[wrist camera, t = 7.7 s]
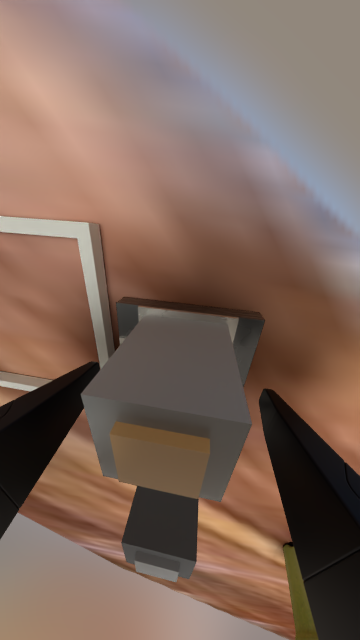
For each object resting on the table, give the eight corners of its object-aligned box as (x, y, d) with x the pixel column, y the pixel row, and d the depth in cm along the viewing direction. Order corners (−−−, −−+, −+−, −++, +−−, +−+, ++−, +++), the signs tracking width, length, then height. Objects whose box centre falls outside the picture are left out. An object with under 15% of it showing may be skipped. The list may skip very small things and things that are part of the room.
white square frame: (120, 397, 16) (115, 406, 15) (-13, 374, 18) (-25, 381, 17) (99, 224, 10) (88, 222, 9) (-108, 208, 11) (-135, 206, 10)
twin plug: (194, 479, 18) (188, 588, 13) (149, 470, 19) (124, 571, 13) (199, 454, 16) (196, 572, 10) (148, 444, 17) (118, 552, 11)
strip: (211, 470, 20) (212, 486, 18) (136, 454, 21) (132, 469, 19) (259, 312, 11) (266, 322, 10) (124, 296, 12) (114, 303, 10)
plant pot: (336, 565, 26) (390, 700, 19) (271, 555, 29) (295, 673, 21) (346, 542, 23) (419, 699, 15) (270, 532, 25) (299, 666, 17)
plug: (214, 385, 12) (221, 516, 6) (146, 375, 13) (97, 487, 7) (227, 324, 10) (255, 439, 4) (145, 314, 10) (70, 405, 5)
